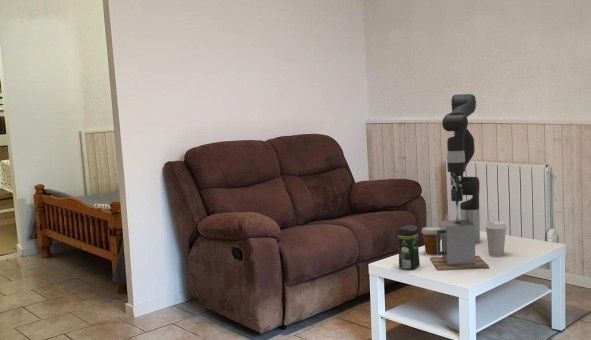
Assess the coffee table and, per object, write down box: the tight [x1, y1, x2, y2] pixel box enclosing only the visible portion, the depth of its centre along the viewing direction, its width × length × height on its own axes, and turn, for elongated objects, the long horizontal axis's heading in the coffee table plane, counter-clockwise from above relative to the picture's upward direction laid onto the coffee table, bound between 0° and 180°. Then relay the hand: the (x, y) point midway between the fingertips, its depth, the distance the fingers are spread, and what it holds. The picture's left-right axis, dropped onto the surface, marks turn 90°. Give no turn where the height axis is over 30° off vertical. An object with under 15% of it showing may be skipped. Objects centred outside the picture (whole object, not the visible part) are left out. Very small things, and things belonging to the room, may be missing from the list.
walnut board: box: [429, 255, 490, 271], centre depth 273 cm, size 18×22×1 cm
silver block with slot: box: [436, 219, 476, 266], centre depth 272 cm, size 12×15×18 cm
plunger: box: [450, 187, 464, 223], centre depth 270 cm, size 8×8×20 cm
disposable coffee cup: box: [421, 226, 442, 256], centre depth 292 cm, size 10×10×12 cm
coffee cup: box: [484, 220, 508, 257], centre depth 284 cm, size 10×10×15 cm
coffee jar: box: [397, 224, 421, 270], centre depth 271 cm, size 10×8×19 cm
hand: (456, 197), depth 269 cm, fingers open, 8 cm apart
